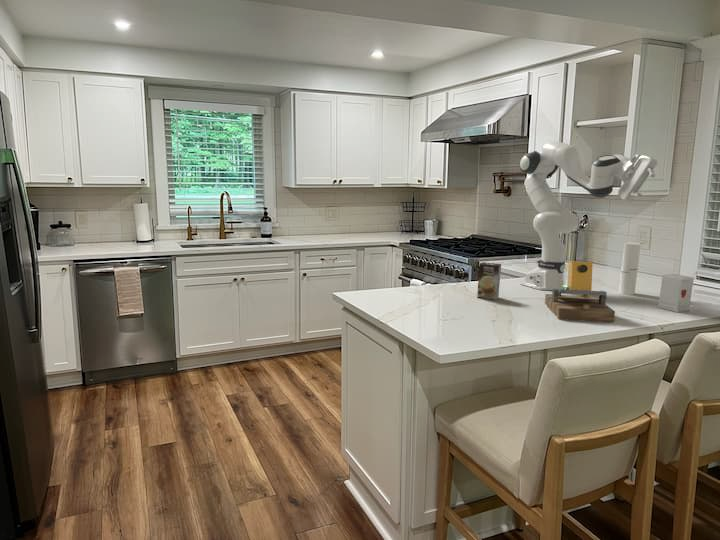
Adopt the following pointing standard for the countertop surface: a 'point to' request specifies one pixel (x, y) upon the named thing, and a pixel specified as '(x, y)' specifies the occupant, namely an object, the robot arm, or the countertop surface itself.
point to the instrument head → (580, 279)
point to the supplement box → (675, 292)
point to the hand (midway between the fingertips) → (646, 185)
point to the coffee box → (489, 280)
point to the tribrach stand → (579, 307)
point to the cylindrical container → (629, 268)
